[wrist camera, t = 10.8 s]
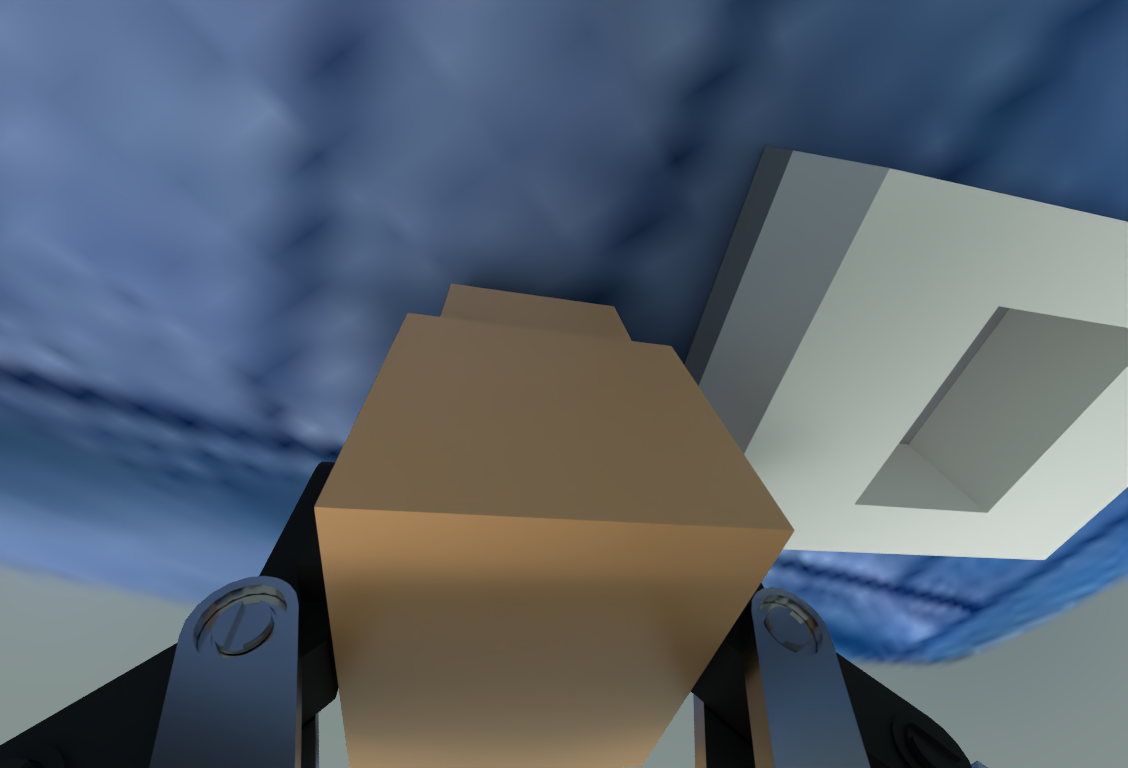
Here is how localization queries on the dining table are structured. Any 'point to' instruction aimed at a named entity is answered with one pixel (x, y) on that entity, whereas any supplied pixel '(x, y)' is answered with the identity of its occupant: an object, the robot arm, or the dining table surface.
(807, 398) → the socket block
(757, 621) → the robot arm
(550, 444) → the plug
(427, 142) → the dining table surface
